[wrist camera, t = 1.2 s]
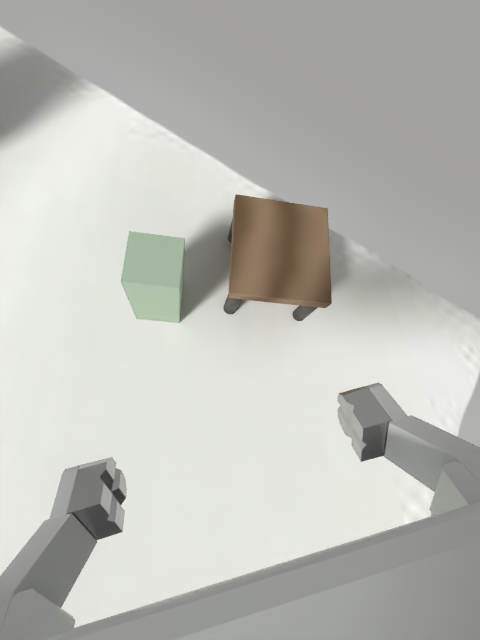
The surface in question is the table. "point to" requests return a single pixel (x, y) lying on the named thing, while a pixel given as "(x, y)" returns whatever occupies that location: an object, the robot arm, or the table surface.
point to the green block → (154, 276)
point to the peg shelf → (279, 255)
